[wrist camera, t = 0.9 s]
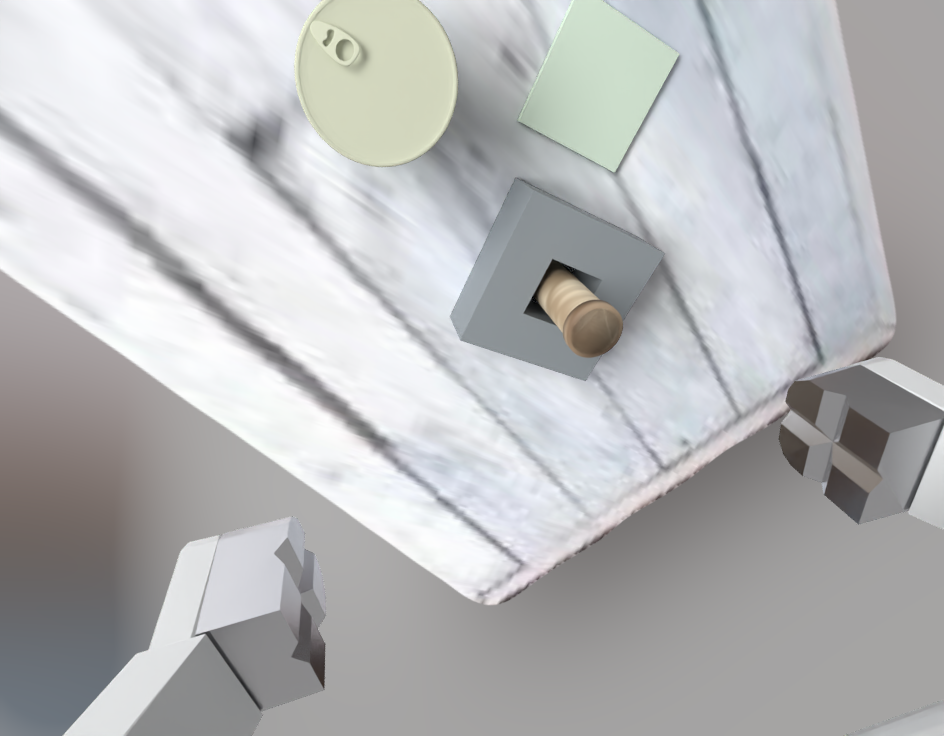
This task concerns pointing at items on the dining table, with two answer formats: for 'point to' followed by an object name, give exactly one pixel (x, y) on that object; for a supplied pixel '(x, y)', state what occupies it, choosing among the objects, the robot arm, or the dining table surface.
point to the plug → (578, 312)
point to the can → (376, 78)
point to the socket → (523, 266)
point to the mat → (597, 82)
